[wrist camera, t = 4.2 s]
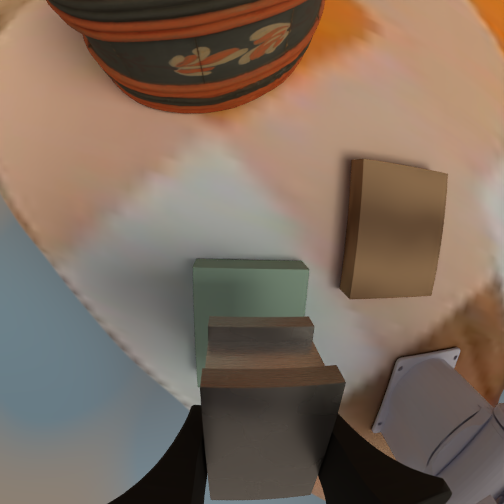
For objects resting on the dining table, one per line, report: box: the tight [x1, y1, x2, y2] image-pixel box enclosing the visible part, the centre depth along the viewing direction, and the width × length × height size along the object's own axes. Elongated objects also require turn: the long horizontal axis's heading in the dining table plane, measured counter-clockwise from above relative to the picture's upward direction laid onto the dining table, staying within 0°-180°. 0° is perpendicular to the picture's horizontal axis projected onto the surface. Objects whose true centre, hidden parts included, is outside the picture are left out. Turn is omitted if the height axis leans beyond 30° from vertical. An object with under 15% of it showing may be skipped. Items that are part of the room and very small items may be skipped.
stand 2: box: [340, 159, 448, 299], centre depth 19 cm, size 9×7×2 cm
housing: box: [200, 316, 346, 500], centre depth 11 cm, size 7×4×5 cm, turn 178°
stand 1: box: [193, 259, 309, 387], centre depth 20 cm, size 9×7×2 cm
